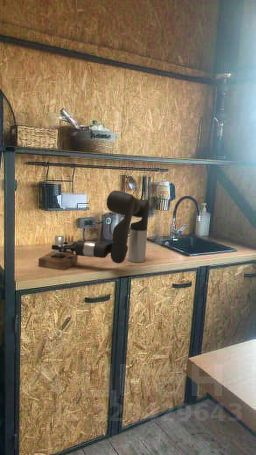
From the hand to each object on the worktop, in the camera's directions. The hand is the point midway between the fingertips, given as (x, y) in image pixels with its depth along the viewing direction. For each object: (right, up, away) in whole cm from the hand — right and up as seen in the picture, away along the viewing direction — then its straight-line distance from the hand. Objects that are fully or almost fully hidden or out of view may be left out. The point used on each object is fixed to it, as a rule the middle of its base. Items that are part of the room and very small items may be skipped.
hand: (55, 245), depth 184 cm
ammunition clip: (+1, -7, +15) cm, 17 cm away
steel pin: (+1, -10, +1) cm, 10 cm away
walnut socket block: (+1, -9, +1) cm, 10 cm away
